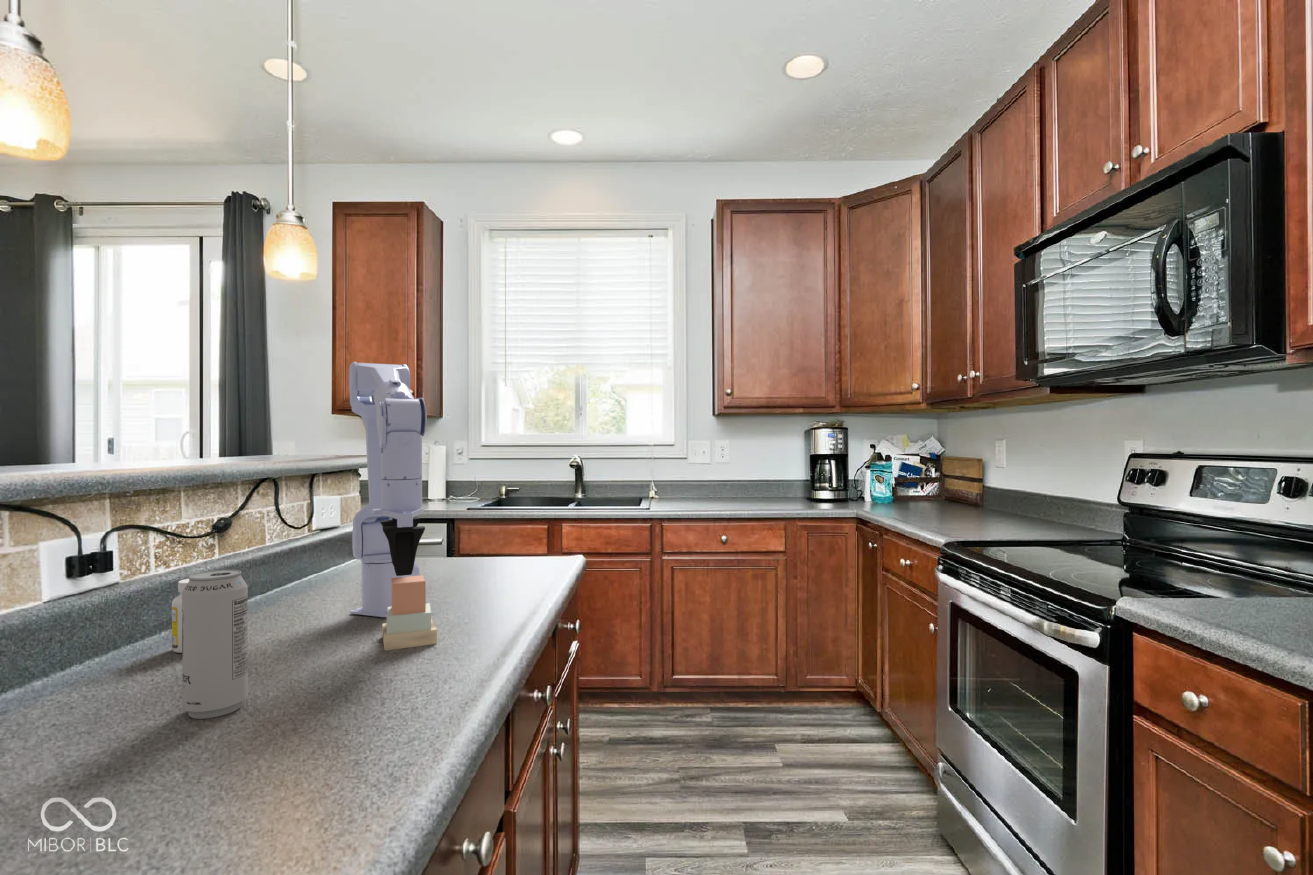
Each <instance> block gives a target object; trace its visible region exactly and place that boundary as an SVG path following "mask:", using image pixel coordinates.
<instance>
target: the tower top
mask: <svg viewBox="0 0 1313 875" xmlns="http://www.w3.org/2000/svg"><path fill="white" fill-rule="evenodd" d="M431 619H432V608H431V603H430V602H427V603H426V612H418V613H409V614H399V615H393V614H392V606H391V607H388V610H387V617H386V623H387V634H395V633H404V632H414V631H423V630H431Z"/></svg>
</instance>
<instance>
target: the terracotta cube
mask: <svg viewBox="0 0 1313 875" xmlns="http://www.w3.org/2000/svg"><path fill="white" fill-rule="evenodd" d="M426 593H427V591H426V579H425V577H424V575H423V574H421V575H420V576H409V577H397V578H391V600H392V614H393V615H399V614H409V613H418V612H426V598H427V597H426V596H427V595H426Z"/></svg>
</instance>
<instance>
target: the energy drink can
mask: <svg viewBox="0 0 1313 875" xmlns="http://www.w3.org/2000/svg"><path fill="white" fill-rule="evenodd" d="M188 579H189V582H188V584H187V585H186V587H185V589H184V590H183V592H182V653H181V659H182V661H181V667H182V668H181V672H182V673H181V678H182V680H181V682H182V683H181V687H182V688H181V689H182V691H181V692H182V694H181V699H182V700H181V705H182V706H181V707H182V710H184V711H185V712H187V713H188V717H190V718H192V719H197V720H198V719H199V720H201V719H212V718H217V717H222V716H224V715H228V714H231V713H234V712H235V711H237V710H239V709H240V708H241V707H242V706H243V702H244V700H246V698H247V697H248V696H249V627H248V626H249V620H248V619H249V616H248V615H249V614H248V613H249V612H248V610H249V608H248V607H249V605H248V603H249V599H248V596H249V594H248V593H249V591H248V590H249V589H248V588H249V586H248V584H247V582H246V581H245V580H244V579H243V577H242V571H241V570H239V569H217V570H207V571H202V572H201V571H200V572H196V573H193V574H190V575H189V576H188Z"/></svg>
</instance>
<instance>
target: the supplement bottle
mask: <svg viewBox="0 0 1313 875" xmlns="http://www.w3.org/2000/svg"><path fill="white" fill-rule="evenodd" d="M188 582H189V578H186V579H182V580H179V581H177V592H178V593H179V595H178V596H176V597H175V598H173V599H172V601H171V650H172V652H174V653H178V654H182V592H183V590H184V589H185V587H186V585H187V584H188Z"/></svg>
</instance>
